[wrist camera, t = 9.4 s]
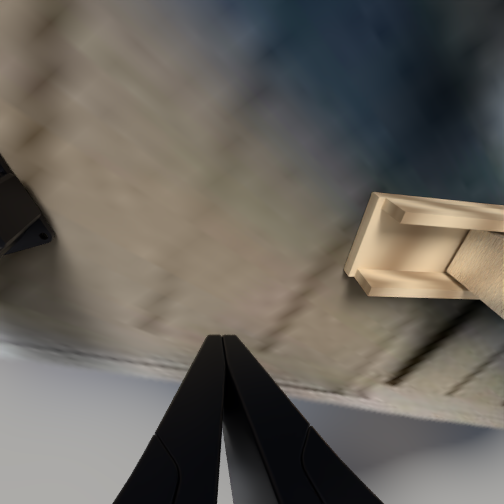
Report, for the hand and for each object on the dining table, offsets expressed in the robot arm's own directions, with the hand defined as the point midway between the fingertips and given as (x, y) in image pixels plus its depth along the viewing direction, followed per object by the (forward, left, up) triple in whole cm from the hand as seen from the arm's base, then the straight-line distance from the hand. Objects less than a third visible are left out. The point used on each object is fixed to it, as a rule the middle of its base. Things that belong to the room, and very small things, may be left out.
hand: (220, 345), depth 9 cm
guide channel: (+18, -10, -13) cm, 25 cm away
